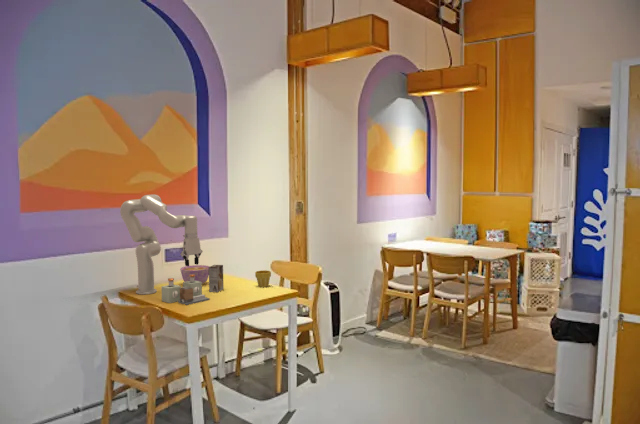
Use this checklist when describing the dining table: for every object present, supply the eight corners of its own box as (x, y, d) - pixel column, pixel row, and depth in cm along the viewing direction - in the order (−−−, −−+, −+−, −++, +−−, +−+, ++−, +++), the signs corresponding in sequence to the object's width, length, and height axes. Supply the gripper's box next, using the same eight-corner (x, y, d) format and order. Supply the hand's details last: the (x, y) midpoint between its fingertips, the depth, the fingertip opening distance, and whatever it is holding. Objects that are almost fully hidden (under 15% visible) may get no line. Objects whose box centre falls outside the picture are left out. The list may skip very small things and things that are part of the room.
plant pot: (253, 287, 344) (253, 273, 343) (258, 284, 354) (257, 270, 354) (268, 288, 342) (268, 273, 342) (272, 284, 353) (272, 270, 352)
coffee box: (214, 288, 342) (214, 264, 340) (223, 289, 340) (223, 264, 339) (208, 291, 333) (208, 267, 331) (218, 292, 331) (217, 267, 330)
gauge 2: (188, 285, 321) (188, 274, 320) (193, 284, 323) (192, 274, 323) (191, 286, 319) (191, 275, 318) (196, 285, 321) (196, 274, 321)
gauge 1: (167, 290, 309) (166, 278, 309) (172, 289, 312) (171, 277, 311) (170, 291, 307) (170, 279, 307) (175, 290, 310) (175, 278, 309)
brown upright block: (180, 300, 305) (179, 287, 305) (187, 299, 309) (186, 286, 308) (186, 302, 301) (185, 289, 301) (193, 300, 305) (192, 287, 304)
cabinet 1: (161, 301, 310) (161, 286, 309) (173, 298, 316) (173, 284, 315) (169, 303, 304) (169, 288, 304) (181, 300, 310) (181, 286, 310)
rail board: (177, 302, 306) (177, 298, 306) (200, 297, 318) (200, 293, 318) (186, 305, 300) (186, 300, 300) (209, 299, 312) (209, 295, 312)
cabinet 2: (183, 296, 321) (182, 282, 320) (194, 294, 327) (193, 280, 326) (191, 298, 316) (191, 284, 315) (202, 296, 322) (201, 282, 321)
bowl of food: (174, 285, 351) (173, 268, 350) (195, 280, 368) (195, 264, 367) (195, 289, 340) (195, 271, 340) (216, 283, 357) (216, 266, 357)
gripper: (182, 237, 309) (183, 267, 311) (206, 235, 322) (207, 263, 324) (175, 236, 314) (176, 266, 316) (199, 234, 327) (199, 262, 329)
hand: (191, 264), depth 320 cm, fingers open, 6 cm apart
